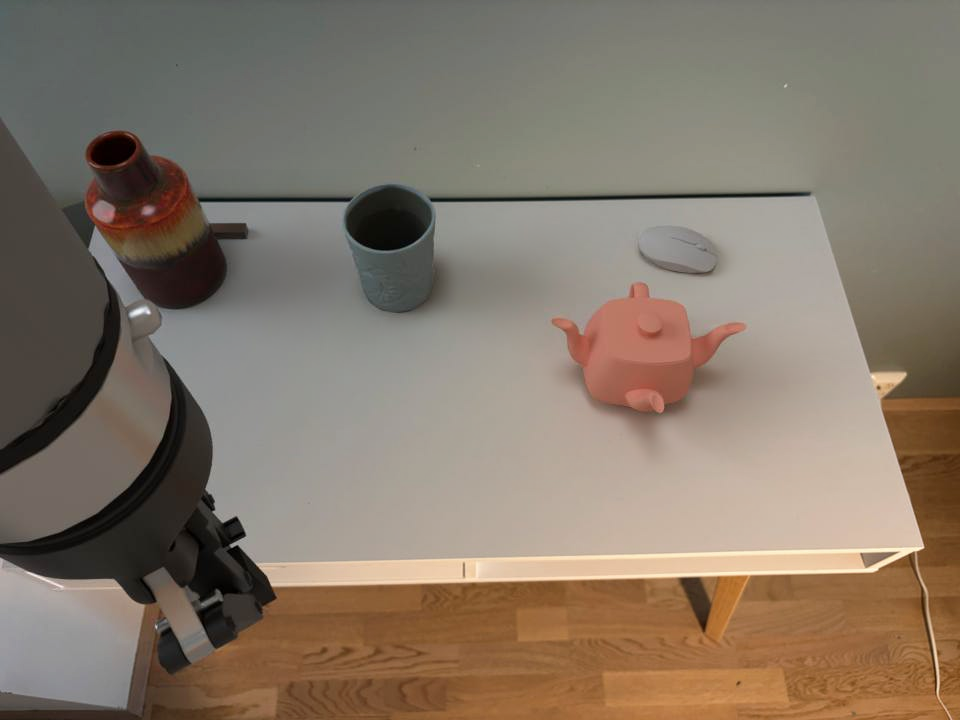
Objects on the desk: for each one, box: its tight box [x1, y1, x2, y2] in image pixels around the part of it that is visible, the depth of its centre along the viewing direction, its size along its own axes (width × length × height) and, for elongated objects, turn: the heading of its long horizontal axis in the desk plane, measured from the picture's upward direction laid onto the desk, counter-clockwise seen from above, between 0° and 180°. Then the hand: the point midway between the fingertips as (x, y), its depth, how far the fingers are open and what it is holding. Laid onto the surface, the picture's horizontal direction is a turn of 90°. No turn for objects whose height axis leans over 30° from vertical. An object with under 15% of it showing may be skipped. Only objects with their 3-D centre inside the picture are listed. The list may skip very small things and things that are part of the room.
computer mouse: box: [638, 225, 718, 274], centre depth 91 cm, size 6×10×3 cm, turn 77°
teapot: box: [550, 281, 748, 414], centre depth 79 cm, size 14×14×11 cm
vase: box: [84, 129, 228, 310], centre depth 81 cm, size 11×11×20 cm
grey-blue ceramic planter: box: [341, 182, 437, 313], centre depth 85 cm, size 10×10×12 cm
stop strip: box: [209, 222, 249, 240], centre depth 93 cm, size 14×2×1 cm, turn 91°
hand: (250, 599), depth 42 cm, fingers closed
